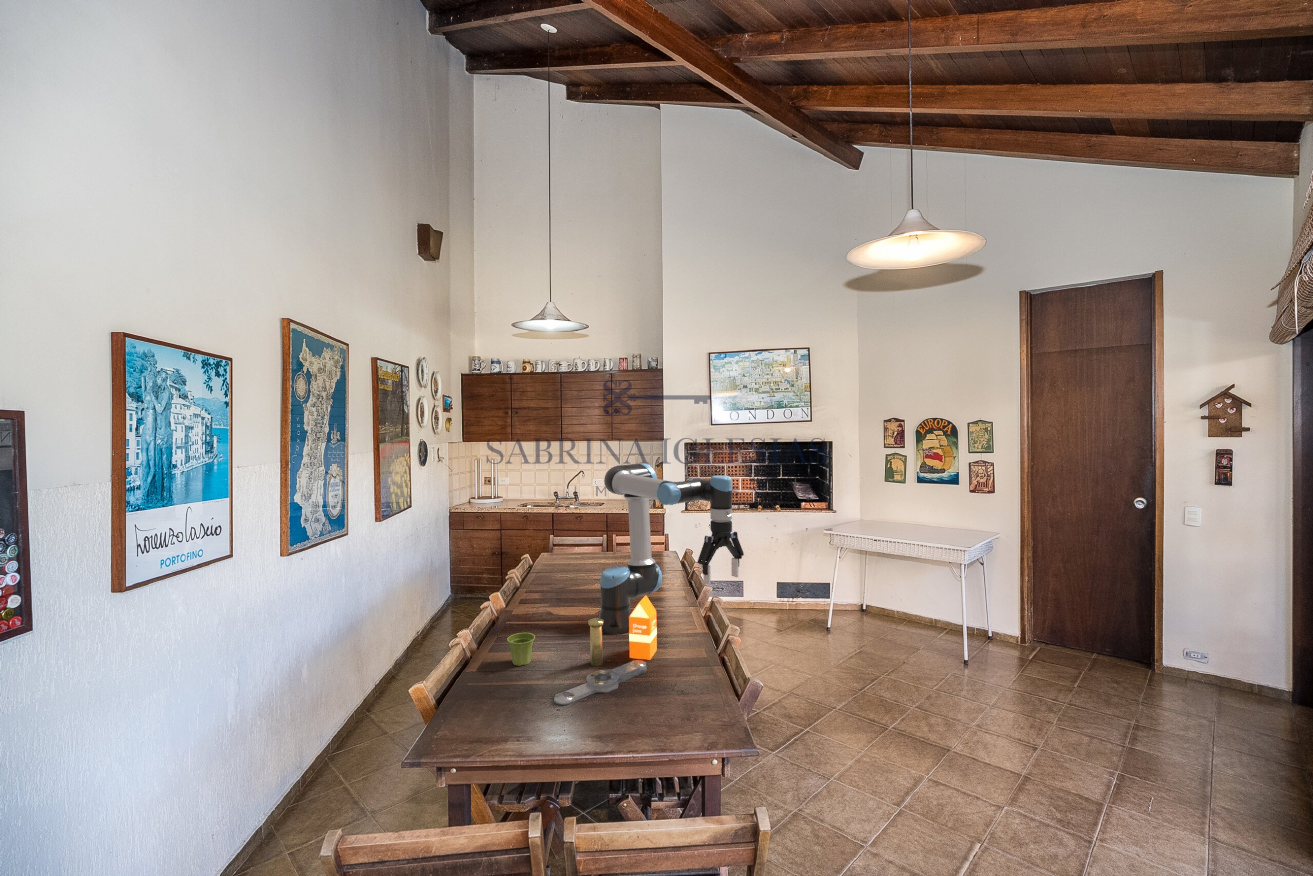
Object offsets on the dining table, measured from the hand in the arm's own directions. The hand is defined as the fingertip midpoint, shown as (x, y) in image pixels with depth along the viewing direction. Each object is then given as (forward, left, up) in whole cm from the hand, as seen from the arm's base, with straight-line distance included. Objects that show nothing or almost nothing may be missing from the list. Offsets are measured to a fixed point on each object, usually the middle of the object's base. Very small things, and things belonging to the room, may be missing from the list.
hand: (721, 580), depth 207 cm
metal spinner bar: (-11, -44, -27) cm, 53 cm away
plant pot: (-44, -54, -27) cm, 75 cm away
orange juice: (-20, -19, -27) cm, 39 cm away
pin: (-25, -36, -27) cm, 52 cm away
